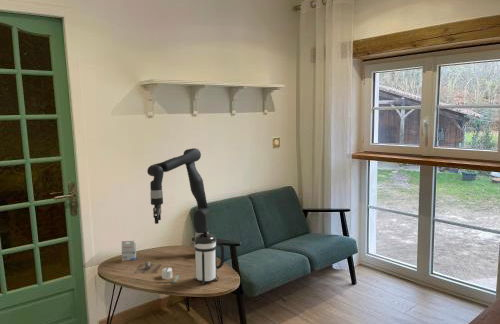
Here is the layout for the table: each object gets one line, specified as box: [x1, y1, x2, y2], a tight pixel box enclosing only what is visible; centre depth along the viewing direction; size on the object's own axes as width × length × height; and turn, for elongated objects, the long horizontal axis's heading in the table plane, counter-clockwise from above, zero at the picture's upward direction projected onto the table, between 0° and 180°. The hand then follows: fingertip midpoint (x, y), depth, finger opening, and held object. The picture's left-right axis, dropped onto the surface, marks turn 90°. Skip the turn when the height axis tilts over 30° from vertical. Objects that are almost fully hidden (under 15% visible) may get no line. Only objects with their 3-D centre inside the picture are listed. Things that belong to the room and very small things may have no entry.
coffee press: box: [193, 231, 225, 286], centre depth 220 cm, size 17×16×30 cm
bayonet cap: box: [161, 267, 173, 280], centre depth 221 cm, size 6×6×6 cm
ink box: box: [121, 240, 137, 262], centre depth 250 cm, size 8×5×15 cm, turn 96°
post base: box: [133, 261, 162, 274], centre depth 234 cm, size 14×14×6 cm
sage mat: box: [154, 274, 180, 284], centre depth 221 cm, size 12×10×1 cm
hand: (157, 221), depth 237 cm, fingers open, 8 cm apart
